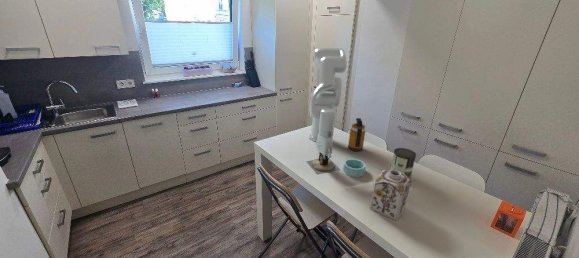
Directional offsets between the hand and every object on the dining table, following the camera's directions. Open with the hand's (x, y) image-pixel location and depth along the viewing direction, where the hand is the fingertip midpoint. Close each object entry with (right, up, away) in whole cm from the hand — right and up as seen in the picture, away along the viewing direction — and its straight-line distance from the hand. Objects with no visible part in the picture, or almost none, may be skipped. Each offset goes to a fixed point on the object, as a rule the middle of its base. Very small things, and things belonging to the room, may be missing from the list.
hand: (323, 162), depth 137 cm
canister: (+23, +5, +21) cm, 31 cm away
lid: (0, -2, +1) cm, 2 cm away
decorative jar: (+24, -16, -29) cm, 41 cm away
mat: (0, -2, +1) cm, 2 cm away
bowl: (+16, -5, -3) cm, 17 cm away
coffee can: (+39, -7, -6) cm, 40 cm away
